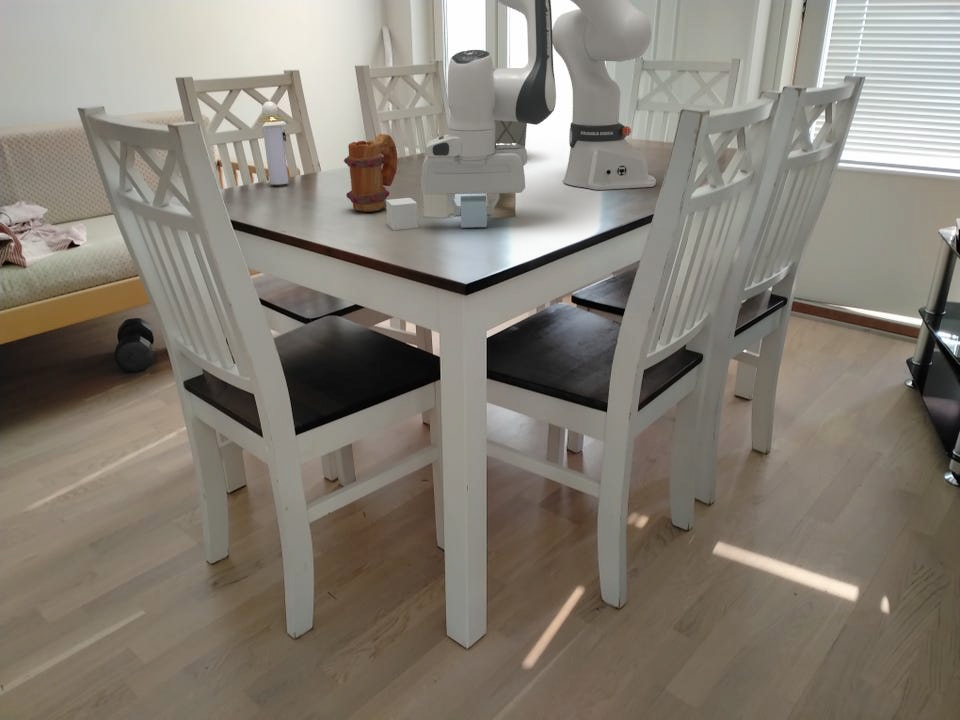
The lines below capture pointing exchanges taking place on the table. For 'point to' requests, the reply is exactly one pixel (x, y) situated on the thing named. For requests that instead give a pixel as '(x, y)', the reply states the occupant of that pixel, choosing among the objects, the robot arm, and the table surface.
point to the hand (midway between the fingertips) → (473, 215)
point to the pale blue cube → (473, 211)
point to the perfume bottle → (274, 145)
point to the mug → (371, 172)
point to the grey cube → (402, 213)
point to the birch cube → (503, 205)
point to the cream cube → (437, 206)
